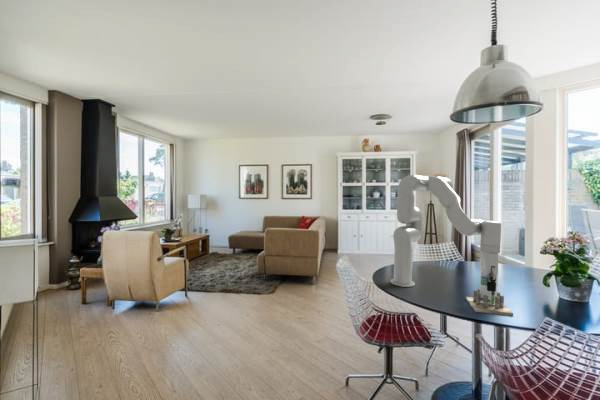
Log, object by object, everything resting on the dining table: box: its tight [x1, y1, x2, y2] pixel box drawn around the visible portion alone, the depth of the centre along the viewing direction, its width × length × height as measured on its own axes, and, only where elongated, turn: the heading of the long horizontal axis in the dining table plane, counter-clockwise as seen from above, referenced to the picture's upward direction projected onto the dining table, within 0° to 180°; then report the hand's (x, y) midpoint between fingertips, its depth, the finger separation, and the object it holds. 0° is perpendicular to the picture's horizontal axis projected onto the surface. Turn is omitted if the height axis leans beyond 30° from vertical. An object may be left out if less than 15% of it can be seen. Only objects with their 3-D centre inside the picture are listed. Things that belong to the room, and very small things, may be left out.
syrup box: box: [479, 269, 499, 304], centre depth 134 cm, size 6×6×14 cm
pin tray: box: [465, 288, 514, 317], centre depth 134 cm, size 16×14×6 cm
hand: (488, 287), depth 134 cm, fingers closed on syrup box, 7 cm apart
